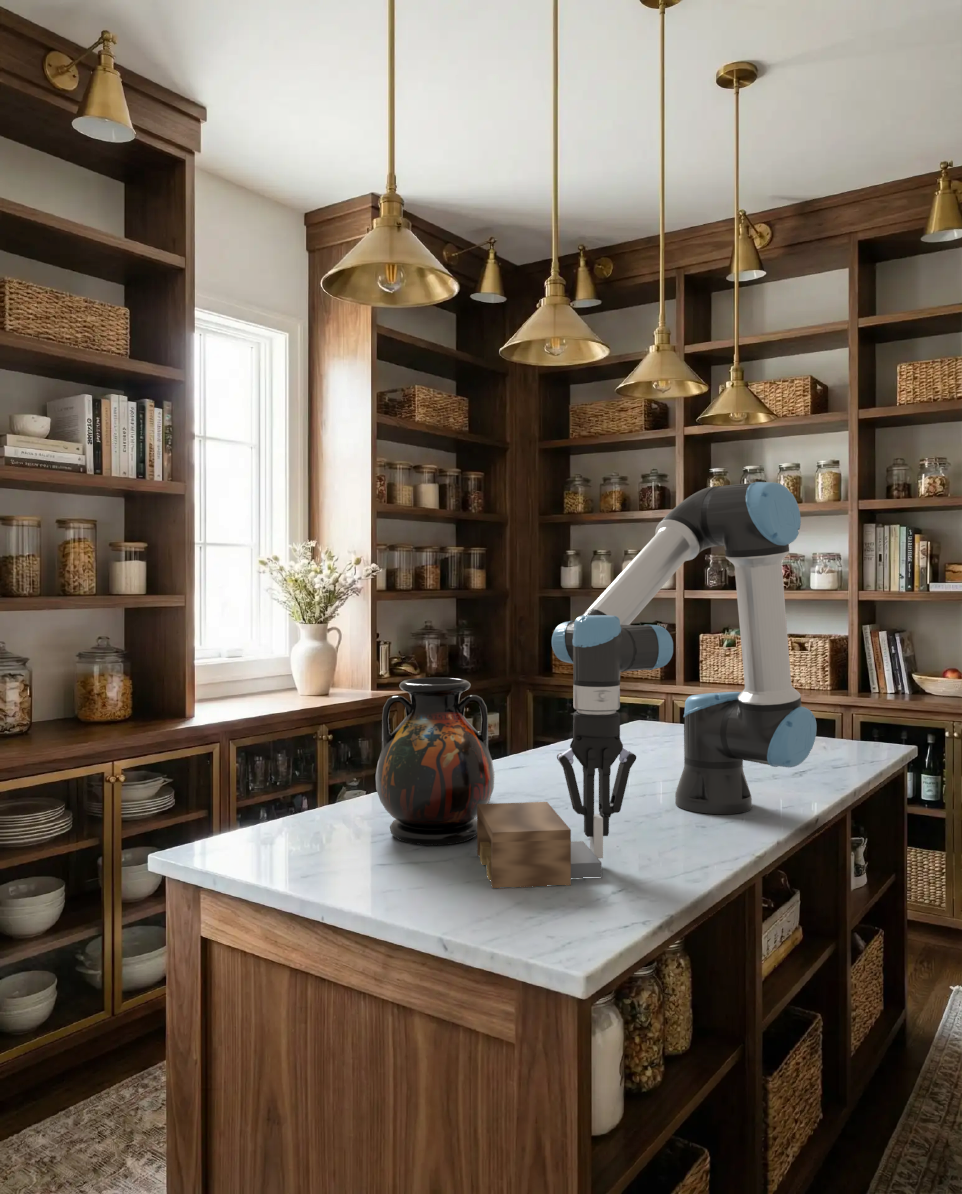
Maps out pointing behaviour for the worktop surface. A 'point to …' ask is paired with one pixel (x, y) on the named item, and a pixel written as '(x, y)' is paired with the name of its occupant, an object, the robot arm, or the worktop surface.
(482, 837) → the walnut shelf
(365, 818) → the worktop surface
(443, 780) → the amphora vase
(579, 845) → the slate board
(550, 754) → the worktop surface
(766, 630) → the robot arm
